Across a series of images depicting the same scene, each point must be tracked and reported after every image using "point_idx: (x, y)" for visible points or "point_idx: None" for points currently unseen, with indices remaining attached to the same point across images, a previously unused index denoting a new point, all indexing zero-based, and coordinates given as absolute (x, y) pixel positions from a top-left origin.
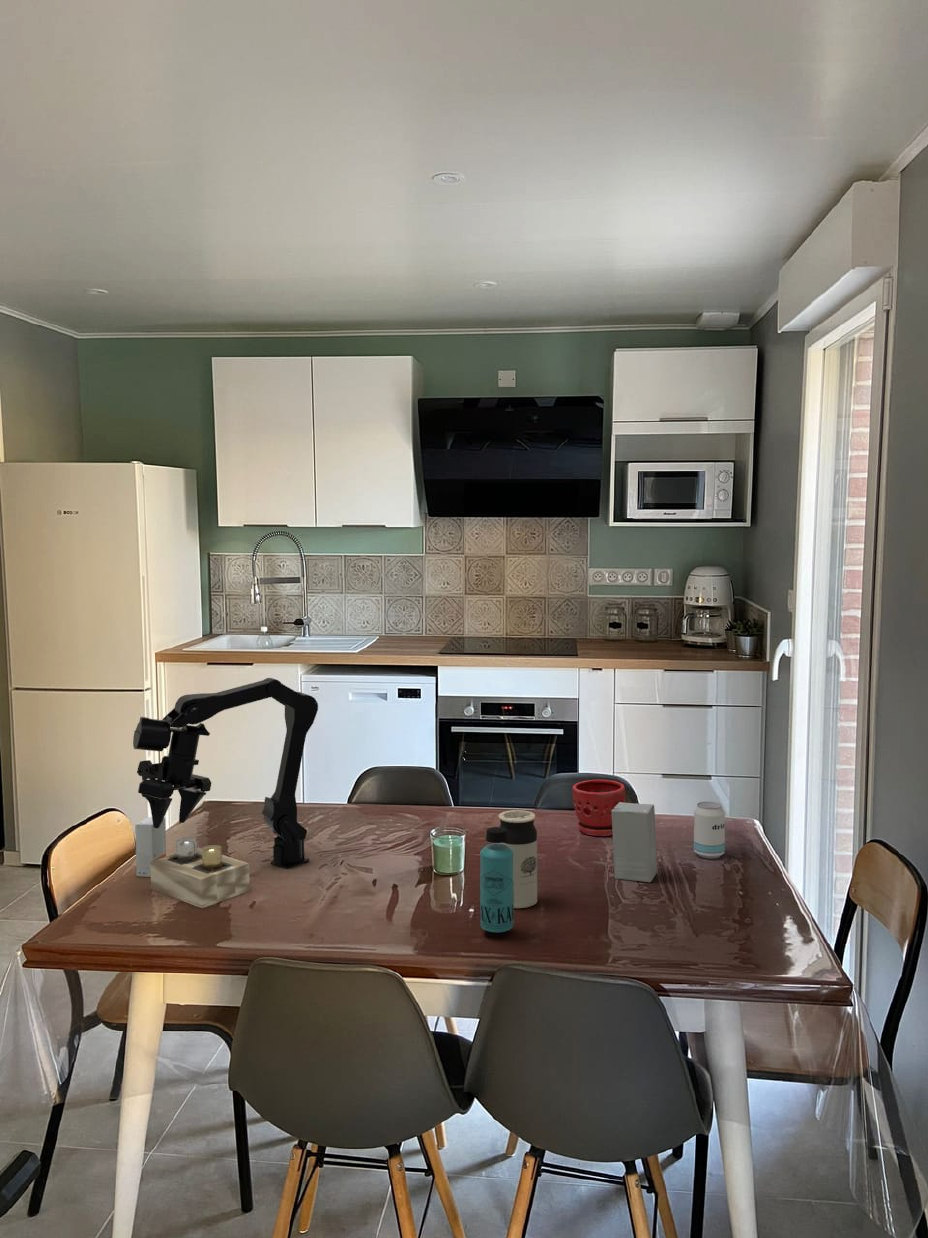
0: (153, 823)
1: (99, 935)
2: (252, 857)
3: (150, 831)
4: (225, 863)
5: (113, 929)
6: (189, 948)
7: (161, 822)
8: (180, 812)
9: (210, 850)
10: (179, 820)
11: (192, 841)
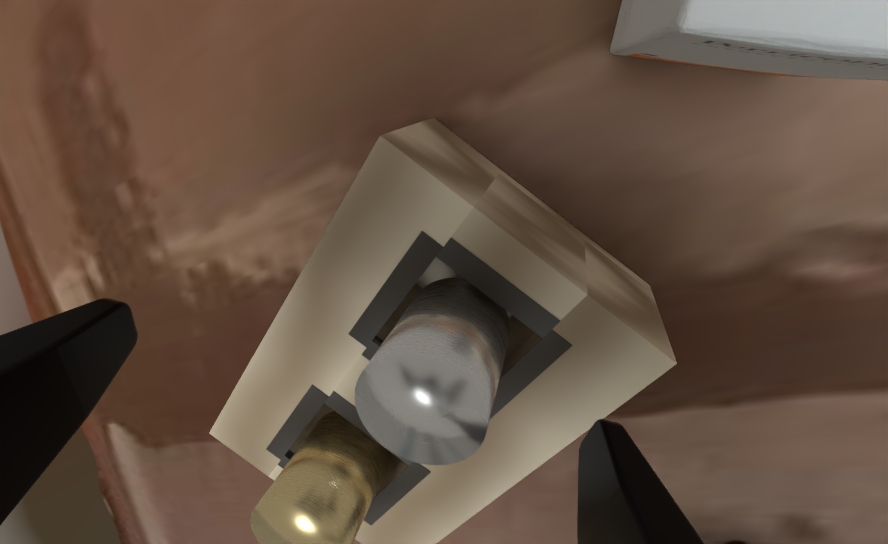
0: (52, 324)
1: (24, 106)
2: (876, 482)
3: (662, 11)
4: (385, 503)
5: (72, 134)
6: None
7: (82, 412)
8: (633, 534)
9: (262, 535)
10: (603, 435)
11: (393, 451)
